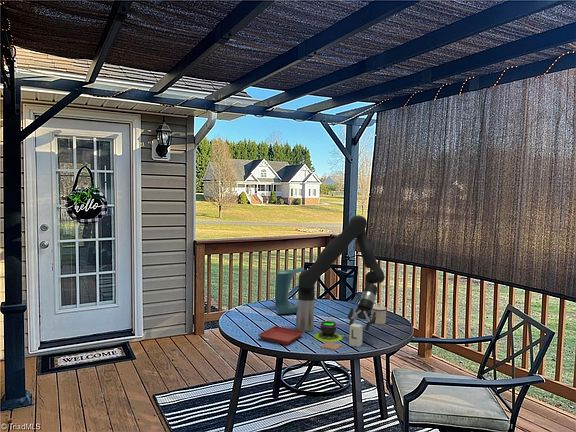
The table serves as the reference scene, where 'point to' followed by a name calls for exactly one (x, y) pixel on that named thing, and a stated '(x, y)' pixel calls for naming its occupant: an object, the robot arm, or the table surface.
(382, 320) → the teacup with lid
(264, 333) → the plant saucer
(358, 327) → the plain off-white block
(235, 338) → the table surface
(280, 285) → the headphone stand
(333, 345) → the coaster
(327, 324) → the toy cauldron
